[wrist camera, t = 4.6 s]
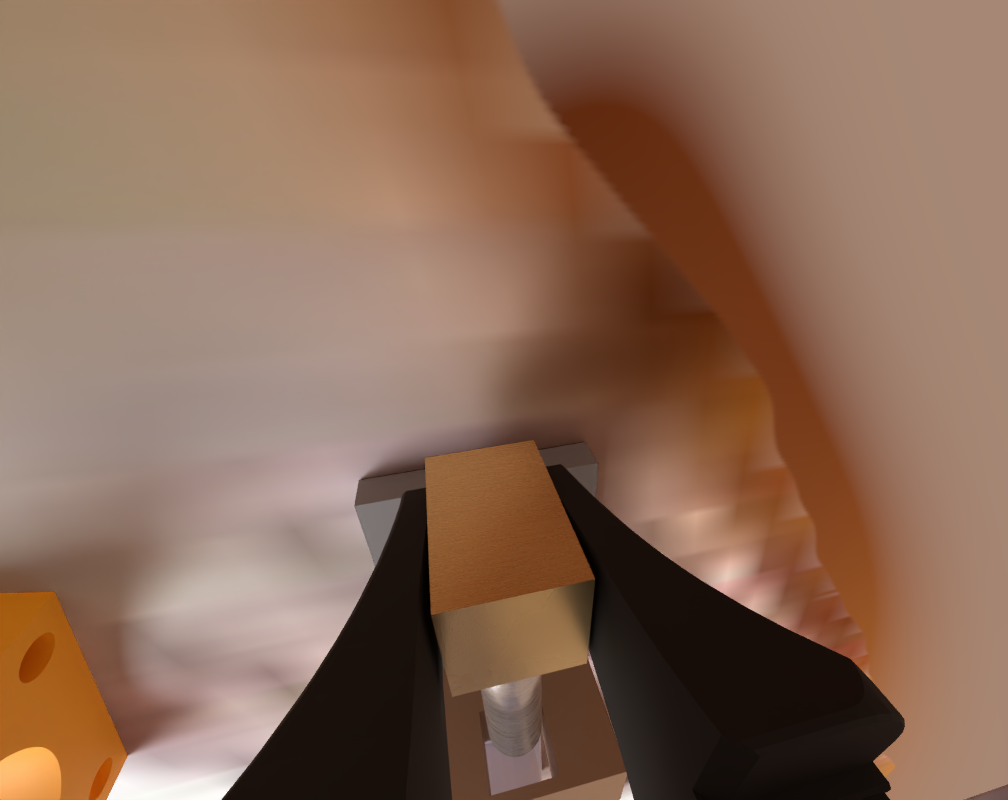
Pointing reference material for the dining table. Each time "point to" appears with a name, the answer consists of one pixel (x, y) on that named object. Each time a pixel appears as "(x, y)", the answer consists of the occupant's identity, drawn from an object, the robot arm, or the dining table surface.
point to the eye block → (565, 693)
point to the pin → (504, 584)
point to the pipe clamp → (50, 708)
